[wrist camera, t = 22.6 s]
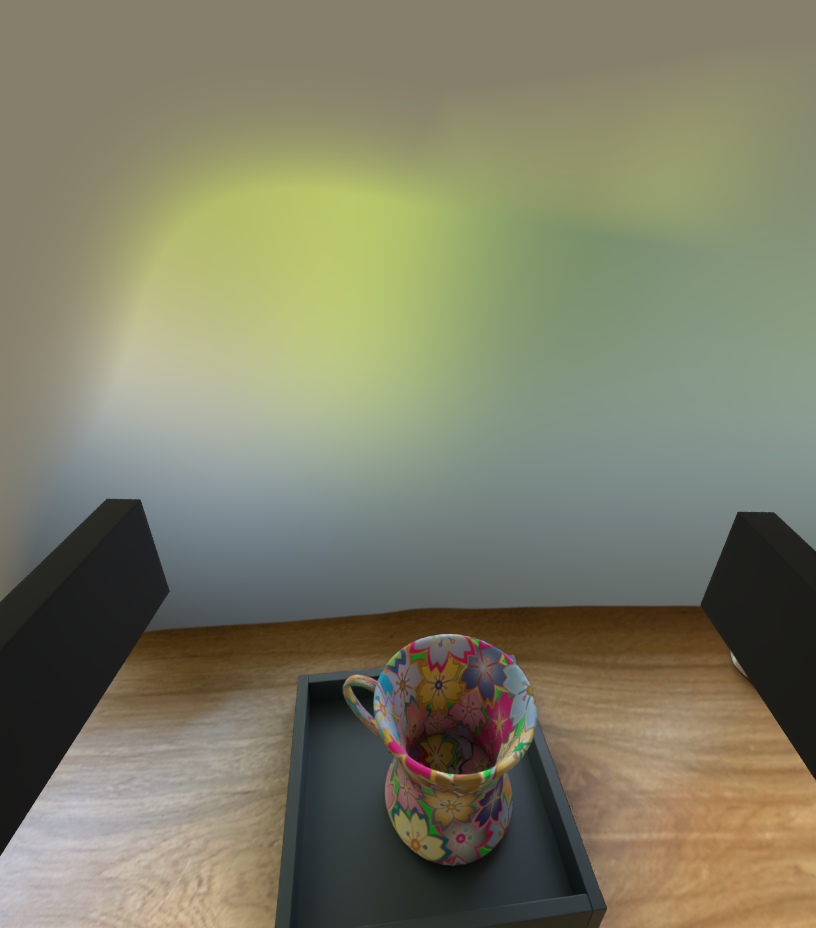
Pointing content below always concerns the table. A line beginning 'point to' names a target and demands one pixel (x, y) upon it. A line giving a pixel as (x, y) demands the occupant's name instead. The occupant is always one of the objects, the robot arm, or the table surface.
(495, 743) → the mug
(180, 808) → the table surface
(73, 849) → the table surface
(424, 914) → the tray
